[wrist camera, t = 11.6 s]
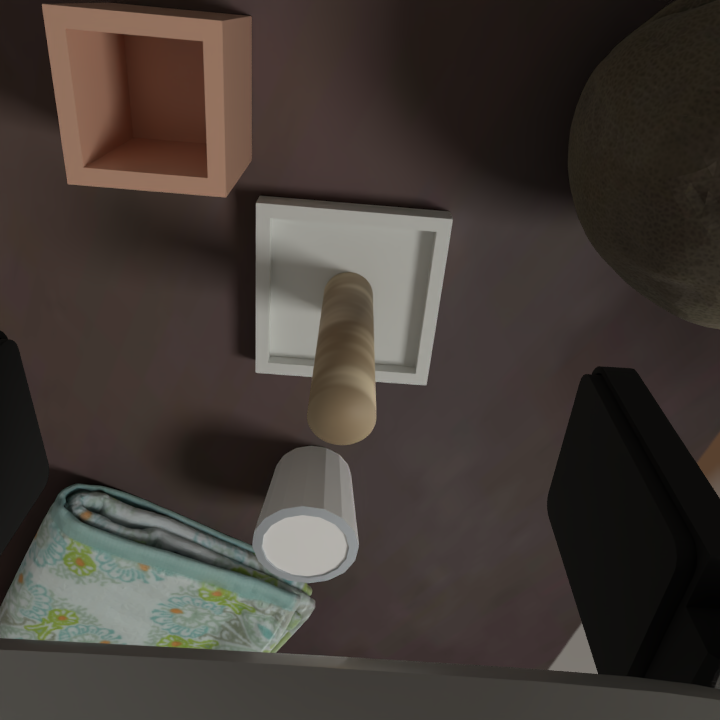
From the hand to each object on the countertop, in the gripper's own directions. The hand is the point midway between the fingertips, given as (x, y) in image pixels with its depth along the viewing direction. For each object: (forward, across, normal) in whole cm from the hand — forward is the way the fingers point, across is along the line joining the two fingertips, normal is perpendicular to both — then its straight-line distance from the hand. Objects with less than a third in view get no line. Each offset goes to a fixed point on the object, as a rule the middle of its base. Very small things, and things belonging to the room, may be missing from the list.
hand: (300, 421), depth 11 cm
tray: (+27, 0, +10) cm, 29 cm away
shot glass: (+27, +2, +25) cm, 37 cm away
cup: (+27, +9, -1) cm, 29 cm away
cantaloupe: (+28, -17, 0) cm, 33 cm away
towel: (+27, +14, +38) cm, 49 cm away
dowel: (+27, 0, +10) cm, 29 cm away
